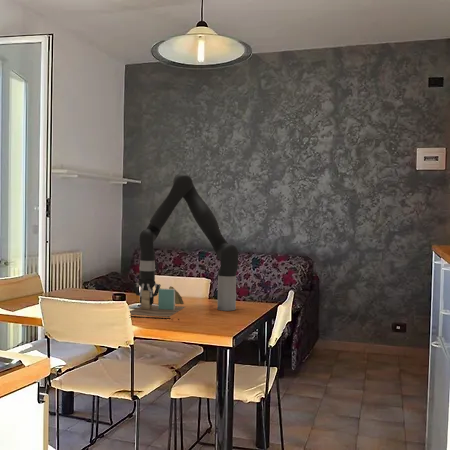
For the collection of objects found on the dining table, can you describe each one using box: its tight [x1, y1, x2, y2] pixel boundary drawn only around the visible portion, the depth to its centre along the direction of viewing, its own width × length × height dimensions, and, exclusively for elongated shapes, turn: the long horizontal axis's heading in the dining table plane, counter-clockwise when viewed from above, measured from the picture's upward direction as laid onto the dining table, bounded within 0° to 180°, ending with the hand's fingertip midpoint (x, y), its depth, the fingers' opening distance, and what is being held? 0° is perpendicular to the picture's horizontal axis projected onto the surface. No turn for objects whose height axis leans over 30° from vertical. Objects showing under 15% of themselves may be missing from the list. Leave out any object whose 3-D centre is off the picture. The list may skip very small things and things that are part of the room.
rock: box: [168, 286, 185, 305], centre depth 278 cm, size 11×9×10 cm
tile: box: [157, 287, 176, 310], centre depth 261 cm, size 2×8×10 cm, turn 78°
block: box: [140, 290, 153, 309], centre depth 263 cm, size 4×4×9 cm
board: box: [130, 304, 186, 320], centre depth 258 cm, size 28×22×1 cm
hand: (146, 304), depth 263 cm, fingers closed on block, 4 cm apart
